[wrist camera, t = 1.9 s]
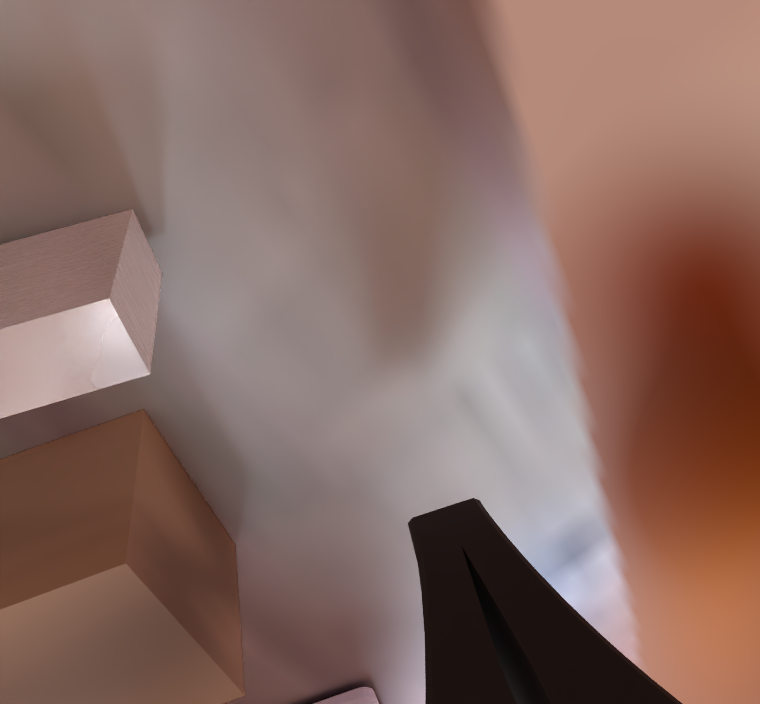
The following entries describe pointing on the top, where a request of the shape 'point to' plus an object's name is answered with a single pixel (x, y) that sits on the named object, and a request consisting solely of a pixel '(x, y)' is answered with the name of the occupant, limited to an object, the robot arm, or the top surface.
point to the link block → (114, 575)
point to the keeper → (76, 311)
